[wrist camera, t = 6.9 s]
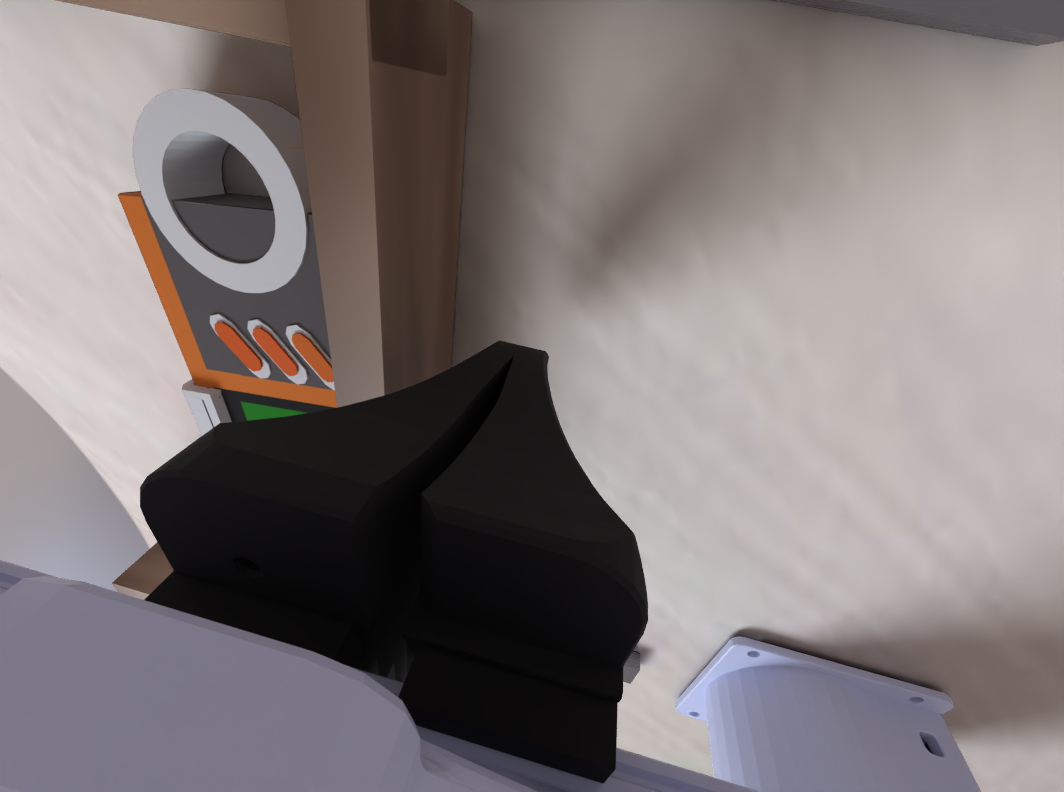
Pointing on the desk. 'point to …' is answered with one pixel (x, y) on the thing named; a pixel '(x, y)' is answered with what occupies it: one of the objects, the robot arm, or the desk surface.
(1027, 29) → the track
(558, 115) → the desk surface
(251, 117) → the electronic device
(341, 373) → the dolly
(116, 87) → the desk surface
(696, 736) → the desk surface
